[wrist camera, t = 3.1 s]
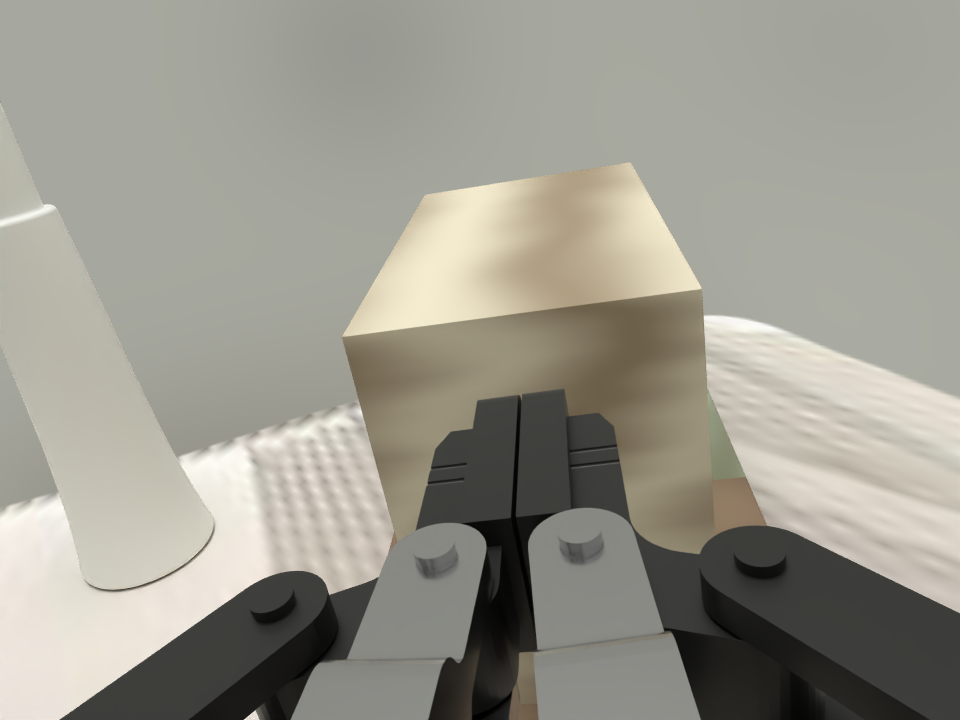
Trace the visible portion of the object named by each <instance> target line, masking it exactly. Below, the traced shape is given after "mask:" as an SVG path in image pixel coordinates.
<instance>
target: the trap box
mask: <svg viewBox="0 0 960 720" xmlns="http://www.w3.org/2000/svg"><path fill="white" fill-rule="evenodd" d="M707 393H708V412H709V431H710V451H711V470H712V489H713V508H714V527H715V535H717V534H719V533H721V532H723V531H726V530H728V529H732V528H736V527H741V526H754V525H759V526H767V525H766V522H765V520H764V518H763V515H762V513H761V511H760V508H759V506H758V504H757V502H756V499H755V497H754V495H753V492H752V490H751V488H750V485H749V483H748V481H747V479H746V476H745V474H744V472H743V469H742V467H741V465H740V462H739V460H738V458H737V456H736V453H735V451H734V449H733V446H732V444H731V442H730V439H729V437H728V435H727V433H726V430H725V428H724V426H723V423H722V421H721V419H720V416H719V414H718V412H717V410H716V407H715V405H714V403H713V400H712V398H711V396H710V393H709V391H708V389H707ZM396 544H397V539H396V536H395V532H394V535H393V538H392V542H391V546H390V549H389V552H390V551H391V549H392V548H393V547H394V546H395V545H396ZM388 554H389V553H388ZM518 720H539V718H538V706H537V704H522V705H520V709H519V717H518Z"/></svg>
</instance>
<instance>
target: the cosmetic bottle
mask: <svg viewBox="0 0 960 720" xmlns="http://www.w3.org/2000/svg"><path fill="white" fill-rule="evenodd" d="M0 346H1V349H2V351H3V353H4V356H5V358H6V360H7V363H8V365H9V367H10V370H11V372H12V375H13V377H14V380H15V382H16V384H17V387H18V389H19V392H20V394H21V396H22V399H23V401H24V404H25V406H26V408H27V411H28V413H29V416H30V418H31V421H32V423H33V426H34V428H35V430H36V433H37V435H38V438H39V440H40V443H41V445H42V448H43V450H44V453H45V456H46V458H47V461H48V464H49V466H50V469H51V472H52V475H53V477H54V480H55V483H56V485H57V488H58V491H59V494H60V497H61V500H62V503H63V506H64V509H65V512H66V516H67V519H68V522H69V526H70V529H71V532H72V536H73V540H74V544H75V547H76V551H77V555H78V560H79V564H80V569H81V573H82V576H83V578H84V579H85V580H86V582H88V583H89V584H90V585H92V586H94V587H97V588H101V589H108V590H116V589H125V588H131V587H135V586H139V585H143V584H146V583H149V582H151V581H154V580H156V579H159V578H161V577H163V576H165V575H167V574H169V573H171V572H173V571H174V570H176V569H178V568H179V567H181V566H182V565H184V564H185V563H186V562H188V561H189V560H190V559H192V558H193V557H194V556H195V555H196V554H197V553H198V552H199V551H200V550H201V549H202V548H203V547H204V545H205V544H206V543H207V541H208V540H209V538H210V536H211V534H212V531H213V527H214V520H213V517H212V514H211V513H210V511H209V510H208V508H207V507H206V505H205V504H204V502H203V501H202V499H201V498H200V496H199V495H198V493H197V492H196V490H195V488H194V487H193V485H192V484H191V482H190V480H189V479H188V477H187V475H186V473H185V472H184V470H183V468H182V467H181V465H180V463H179V461H178V459H177V458H176V456H175V454H174V452H173V450H172V449H171V447H170V445H169V443H168V441H167V439H166V437H165V435H164V433H163V431H162V429H161V428H160V426H159V424H158V422H157V420H156V418H155V416H154V414H153V411H152V409H151V407H150V406H149V403H148V402H147V399H146V397H145V395H144V393H143V391H142V389H141V386H140V384H139V382H138V380H137V378H136V376H135V374H134V372H133V369H132V367H131V365H130V363H129V361H128V359H127V357H126V355H125V352H124V350H123V348H122V346H121V343H120V341H119V339H118V337H117V335H116V333H115V330H114V328H113V326H112V324H111V322H110V320H109V317H108V315H107V313H106V311H105V309H104V307H103V304H102V302H101V300H100V298H99V296H98V293H97V291H96V289H95V287H94V285H93V283H92V281H91V279H90V276H89V274H88V272H87V270H86V268H85V266H84V264H83V262H82V259H81V257H80V255H79V253H78V251H77V249H76V247H75V245H74V243H73V241H72V239H71V236H70V235H69V232H68V230H67V228H66V226H65V224H64V222H63V220H62V218H61V216H60V214H59V212H58V210H57V208H56V207H55V206H53V205H49V204H48V205H47V204H46V205H43V203H42V201H41V199H40V196H39V194H38V191H37V189H36V187H35V185H34V182H33V180H32V177H31V175H30V172H29V170H28V167H27V165H26V163H25V160H24V158H23V155H22V153H21V151H20V148H19V146H18V144H17V141H16V139H15V136H14V134H13V131H12V129H11V127H10V124H9V122H8V120H7V117H6V115H5V112H4V110H3V107H2V105H1V103H0Z"/></svg>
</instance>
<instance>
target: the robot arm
mask: <svg viewBox="0 0 960 720" xmlns="http://www.w3.org/2000/svg"><path fill="white" fill-rule="evenodd" d="M427 483H428V486H426V489H425V493H424V497H423V502H422V506H421V510H420V514H419V518H418V522H417V526H416V530H415V531H414V532H412V533H410V534H408V535H407V536H405V537H404V538H402V539H401V540H400V541H399V542H398V543H397V544H396V545H395V546H394V547H393V548H392V549H391V551H390V552H389V554H388V556H387V558H386V560H385V563H384V566H383V568H382V571H381V573H380V576H379V577H378V578H376V579H374V580H372V581H369V582H367V583H364V584H361V585H358V586H355V587H352V588H349V589H346V590H343V591H340V592H337V593H334V594H331V595H329V593H328V590H327V587H326V584H325V582H324V581H323V580H322V579H321V578H320V577H319V576H317V575H315V574H313V573H310V572H305V571H289V572H283V573H279V574H275V575H272V576H269V577H267V578H264V579H262V580H260V581H258V582H256V583H254V584H253V585H251V586H250V587H248V588H246V589H245V590H244V591H242V592H241V593H239V594H238V595H236V596H235V597H234V598H232V599H231V600H229V601H228V602H227V603H225V604H224V605H222V606H221V607H219V608H218V609H217V610H215V611H214V612H212V613H211V614H209V615H208V616H207V617H205V618H204V619H202V620H201V621H200V622H198V623H197V624H195V625H194V626H192V627H191V628H190V629H188V630H187V631H185V632H184V633H182V634H181V635H180V636H178V637H177V638H175V639H174V640H172V641H171V642H170V643H168V644H167V645H165V646H164V647H163V648H161V649H160V650H158V651H157V652H155V653H154V654H153V655H151V656H150V657H148V658H147V659H145V660H144V661H143V662H141V663H140V664H138V665H137V666H135V667H134V668H133V669H131V670H130V671H128V672H127V673H126V674H124V675H123V676H121V677H120V678H118V679H117V680H116V681H114V682H113V683H111V684H110V685H108V686H107V687H106V688H104V689H103V690H101V691H100V692H98V693H97V694H96V695H94V696H93V697H91V698H90V699H89V700H87V701H86V702H84V703H83V704H81V705H80V706H79V707H77V708H76V709H74V710H73V711H71V712H70V713H69V714H67V715H66V716H64V717H63V718H61V719H60V720H244V719H245V718H246V717H248V716H249V715H250V714H251V713H252V712H254V711H255V710H256V712H257V715H258V717H259V719H260V720H518V717H519V709H520V693H519V688H518V684H517V678H518V672H519V653H522V652H534V671H535V682H536V694H537V706H538V718H539V720H960V613H958V612H956V611H954V610H952V609H950V608H948V607H946V606H944V605H941V604H939V603H937V602H935V601H933V600H931V599H929V598H927V597H925V596H923V595H921V594H919V593H917V592H915V591H913V590H911V589H908V588H906V587H904V586H902V585H900V584H898V583H896V582H894V581H892V580H890V579H888V578H886V577H884V576H882V575H880V574H878V573H875V572H873V571H871V570H869V569H867V568H865V567H863V566H861V565H859V564H857V563H855V562H853V561H851V560H849V559H847V558H845V557H842V556H840V555H838V554H836V553H834V552H832V551H830V550H828V549H826V548H824V547H822V546H820V545H818V544H816V543H814V542H812V541H809V540H807V539H805V538H803V537H801V536H799V535H797V534H795V533H792V532H790V531H787V530H784V529H780V528H776V527H770V526H759V525H754V526H741V527H736V528H732V529H728V530H726V531H723V532H721V533H719V534H717V535H715V536H714V537H712V538H711V539H710V540H709V541H707V542H706V544H705V545H704V546H703V548H702V550H701V552H700V554H694V553H686V552H679V551H673V550H669V549H666V548H662V547H660V546H657V545H655V544H653V543H651V542H649V541H648V540H646V539H645V538H643V537H642V536H641V535H640V534H639V533H638V532H637V531H636V530H635V529H634V527H633V525H632V523H631V520H630V516H629V510H628V504H627V499H626V493H625V487H624V482H623V476H622V470H621V465H620V459H619V453H618V448H617V442H616V436H615V430H614V426H613V425H612V424H610V423H609V422H608V421H607V420H606V419H605V418H604V417H603V416H602V415H601V414H600V413H592V414H584V415H576V416H569V413H568V407H567V401H566V395H565V390H564V389H557V390H549V391H541V392H534V393H526V394H522V401H521V397H520V395H512V396H505V397H497V398H490V399H482V400H478V401H477V405H476V411H475V417H474V423H473V429H467V430H459V431H451V432H450V433H449V434H448V435H447V436H446V438H445V439H444V440H443V441H442V442H441V443H440V444H439V445H438V446H437V448H436V449H435V452H434V456H433V460H432V465H431V471H430V473H429V477H428V481H427Z"/></svg>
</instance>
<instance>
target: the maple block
mask: <svg viewBox="0 0 960 720" xmlns="http://www.w3.org/2000/svg"><path fill="white" fill-rule="evenodd" d="M702 299H703V298H702V288H701V286H700V284H699V283H698V281H697V279H696V277H695V276H694V274H693V272H692V270H691V269H690V267H689V265H688V263H687V261H686V260H685V258H684V256H683V254H682V253H681V251H680V249H679V247H678V246H677V244H676V242H675V240H674V239H673V237H672V235H671V234H670V232H669V230H668V228H667V226H666V225H665V223H664V221H663V220H662V217H661V216H660V214H659V212H658V210H657V209H656V207H655V205H654V203H653V202H652V200H651V198H650V196H649V194H648V193H647V191H646V189H645V187H644V186H643V184H642V182H641V180H640V179H639V177H638V175H637V173H636V171H635V170H634V168H633V166H632V164H631V163H624V164H617V165H611V166H605V167H599V168H592V169H587V170H580V171H573V172H567V173H561V174H554V175H548V176H541V177H535V178H529V179H522V180H516V181H510V182H504V183H497V184H491V185H485V186H478V187H472V188H466V189H459V190H453V191H447V192H440V193H434V194H428V195H425V196H424V198H423V200H422V201H421V203H420V205H419V207H418V208H417V210H416V212H415V213H414V215H413V217H412V219H411V220H410V222H409V224H408V225H407V227H406V229H405V230H404V232H403V234H402V236H401V237H400V239H399V241H398V243H397V244H396V246H395V247H394V249H393V251H392V253H391V254H390V256H389V258H388V259H387V261H386V263H385V265H384V266H383V268H382V270H381V271H380V273H379V275H378V276H377V278H376V280H375V282H374V283H373V285H372V287H371V289H370V290H369V292H368V294H367V295H366V297H365V299H364V300H363V302H362V304H361V305H360V307H359V309H358V311H357V312H356V314H355V316H354V317H353V319H352V321H351V322H350V324H349V326H348V328H347V329H346V331H345V333H344V334H343V336H342V339H343V343H344V346H345V350H346V354H347V357H348V361H349V365H350V369H351V372H352V376H353V380H354V383H355V387H356V391H357V395H358V398H359V402H360V406H361V410H362V413H363V417H364V421H365V424H366V428H367V432H368V435H369V439H370V443H371V447H372V450H373V454H374V458H375V461H376V465H377V469H378V473H379V476H380V480H381V484H382V487H383V491H384V495H385V498H386V502H387V506H388V510H389V513H390V517H391V521H392V524H393V528H394V532H395V536H396V539H397V543H398V542H399V541H400V540H401V539H402V538H404V537H405V536H407V535H408V534H410V533H412V532H414V531H415V530H416V526H417V522H418V518H419V514H420V510H421V506H422V502H423V497H424V493H425V489H426V486H428V483H427V481H428V477H429V473H430V471H431V465H432V460H433V456H434V452H435V449H436V448H437V446H438V445H439V444H440V443H441V442H442V441H443V440H444V439H445V438H446V436H447V435H448V434H449V433H450V432H451V431H459V430H467V429H473V423H474V417H475V411H476V405H477V401H478V400H482V399H490V398H497V397H505V396H512V395H520V397H521V401H522V394H526V393H534V392H541V391H549V390H557V389H564V390H565V395H566V401H567V407H568V413H569V416H576V415H584V414H592V413H600V414H601V415H602V416H603V417H604V418H605V419H606V420H607V421H608V422H609V423H610V424H612V425H613V426H614V430H615V436H616V442H617V448H618V453H619V459H620V465H621V470H622V476H623V482H624V487H625V493H626V499H627V504H628V510H629V516H630V520H631V523H632V525H633V527H634V529H635V530H636V531H637V532H638V533H639V534H640V535H641V536H642V537H643V538H645V539H646V540H648V541H649V542H651V543H653V544H655V545H657V546H660V547H662V548H666V549H669V550H673V551H679V552H686V553H694V554H700V552H701V550H702V548H703V546H704V545H705V544H706V542H707V541H709V540H710V539H711V538H712V537H714V536H715V527H714V508H713V489H712V470H711V451H710V431H709V412H708V393H707V374H706V355H705V336H704V317H703V300H702ZM517 684H518V688H519V693H520V705H522V704H537V694H536V682H535V671H534V652H522V653H519V672H518V678H517Z"/></svg>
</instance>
